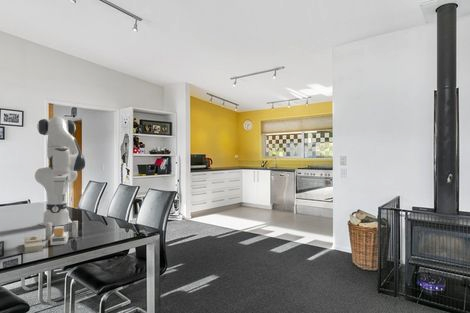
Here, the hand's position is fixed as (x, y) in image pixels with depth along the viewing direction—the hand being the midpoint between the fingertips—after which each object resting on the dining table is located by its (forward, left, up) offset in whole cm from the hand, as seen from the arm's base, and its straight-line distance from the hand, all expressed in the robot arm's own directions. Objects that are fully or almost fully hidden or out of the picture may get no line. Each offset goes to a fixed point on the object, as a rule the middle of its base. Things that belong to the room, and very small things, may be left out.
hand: (61, 202), depth 168 cm
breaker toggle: (+7, 0, -17) cm, 18 cm away
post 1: (-5, -7, -21) cm, 22 cm away
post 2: (-5, +6, -21) cm, 22 cm away
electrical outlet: (+10, -11, -22) cm, 26 cm away
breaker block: (+3, 0, -21) cm, 21 cm away
